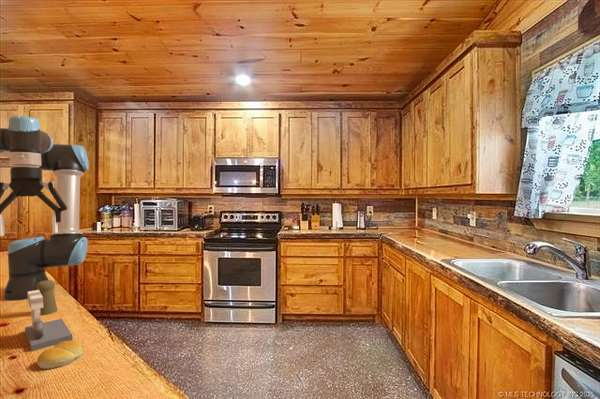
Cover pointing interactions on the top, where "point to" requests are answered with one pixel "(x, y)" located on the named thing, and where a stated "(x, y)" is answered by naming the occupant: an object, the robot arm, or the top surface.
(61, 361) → the bread roll
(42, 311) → the olive mushroom
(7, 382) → the top surface
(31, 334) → the board
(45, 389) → the top surface
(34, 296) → the gate
